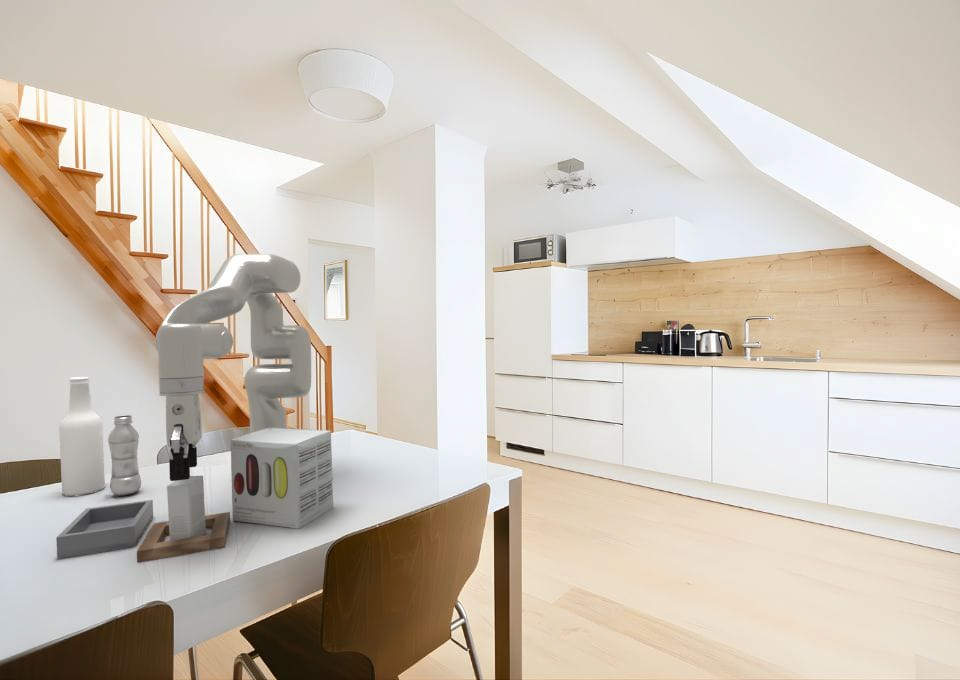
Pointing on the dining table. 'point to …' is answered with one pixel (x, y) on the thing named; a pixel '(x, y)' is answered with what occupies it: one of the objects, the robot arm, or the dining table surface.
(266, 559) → the dining table surface
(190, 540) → the brown square frame
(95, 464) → the alcohol
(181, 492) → the skincare box
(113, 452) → the plastic bottle
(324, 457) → the supplement box
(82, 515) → the tray
